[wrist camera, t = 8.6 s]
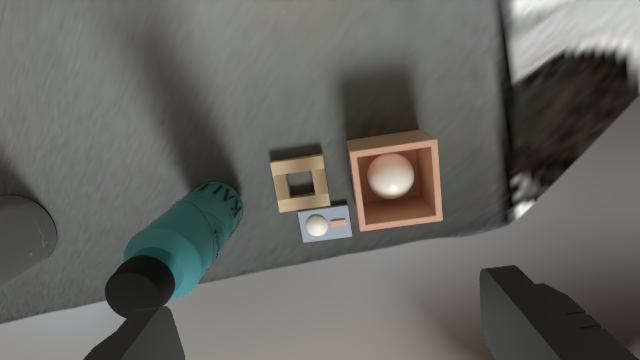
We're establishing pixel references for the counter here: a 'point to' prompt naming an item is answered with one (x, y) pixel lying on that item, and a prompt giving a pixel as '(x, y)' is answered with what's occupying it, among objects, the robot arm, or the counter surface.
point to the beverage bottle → (174, 249)
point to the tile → (325, 223)
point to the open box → (418, 201)
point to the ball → (390, 176)
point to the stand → (299, 165)
